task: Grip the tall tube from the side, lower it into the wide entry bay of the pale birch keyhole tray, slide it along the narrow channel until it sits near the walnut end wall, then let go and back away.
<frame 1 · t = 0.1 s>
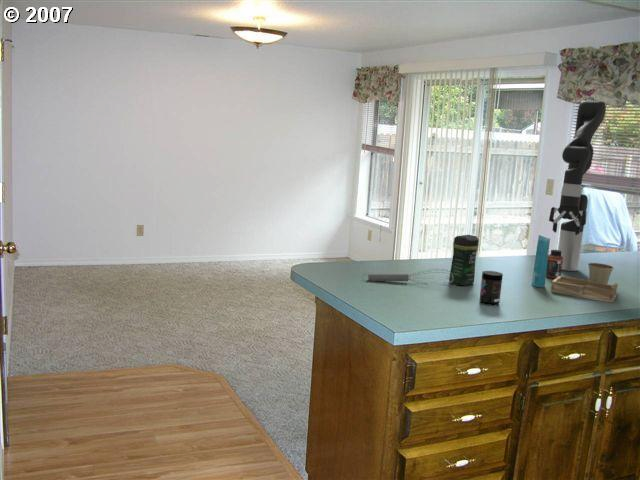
hand: (565, 233, 276), 17 cm above the worktop, tool pointing down, fingers open, 8 cm apart
keyhole tray: (582, 293, 246), on the worktop
kitchen whisk: (408, 284, 245), on the worktop
supplement container: (489, 303, 224), on the worktop
supplement bottle: (552, 277, 271), on the worktop
tube: (538, 286, 254), on the worktop
flower pot: (597, 287, 259), on the worktop
coffee jar: (461, 283, 250), on the worktop
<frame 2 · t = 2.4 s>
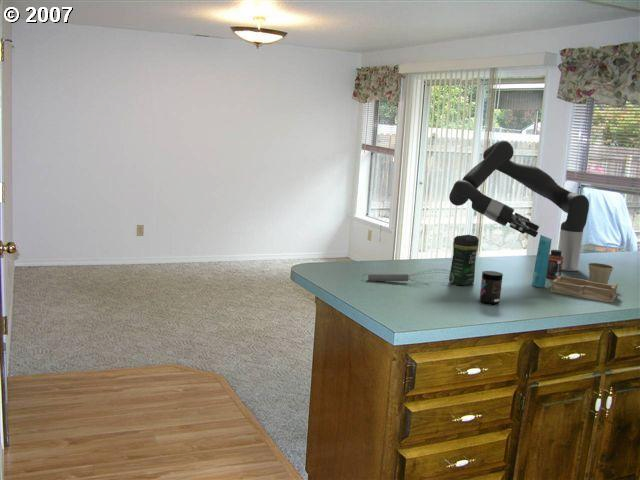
hand: (537, 231, 252), 21 cm above the worktop, tool tilted 70°, fingers open, 8 cm apart
nothing on the worktop moved.
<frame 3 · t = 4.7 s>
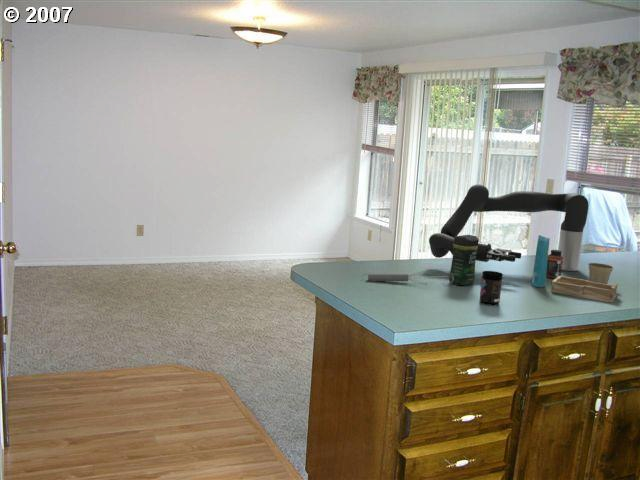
hand: (518, 257, 256), 10 cm above the worktop, tool horizontal, fingers open, 8 cm apart
nothing on the worktop moved.
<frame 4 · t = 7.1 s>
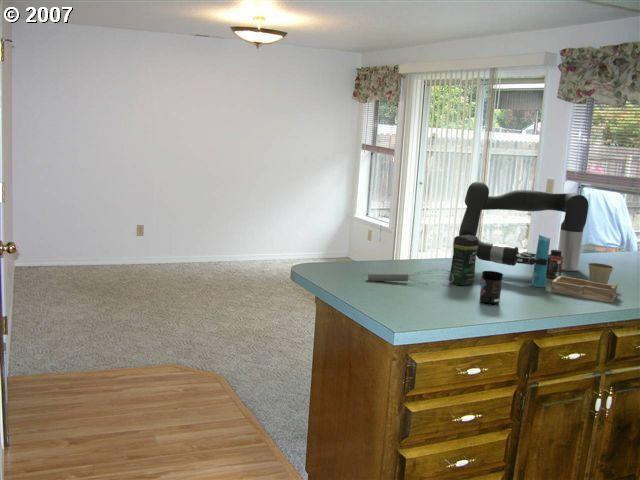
hand: (548, 261, 251), 10 cm above the worktop, tool horizontal, fingers closed on tube, 5 cm apart
tube: (538, 286, 254), on the worktop, touching gripper
everything else where it was.
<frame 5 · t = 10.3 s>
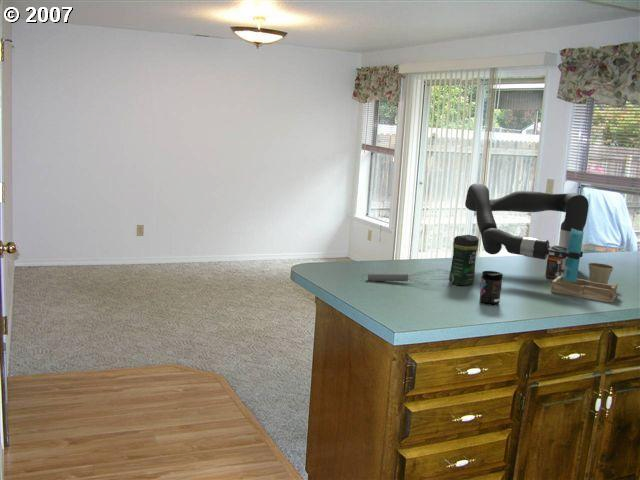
hand: (580, 255, 244), 14 cm above the worktop, tool horizontal, fingers closed on tube, 5 cm apart
tube: (569, 280, 248), point 4 cm above the worktop, touching gripper
everything else where it was.
when the fingers open (12 cm above the worktop, at t = 13.7 s): tube stays where it is, resting on keyhole tray.
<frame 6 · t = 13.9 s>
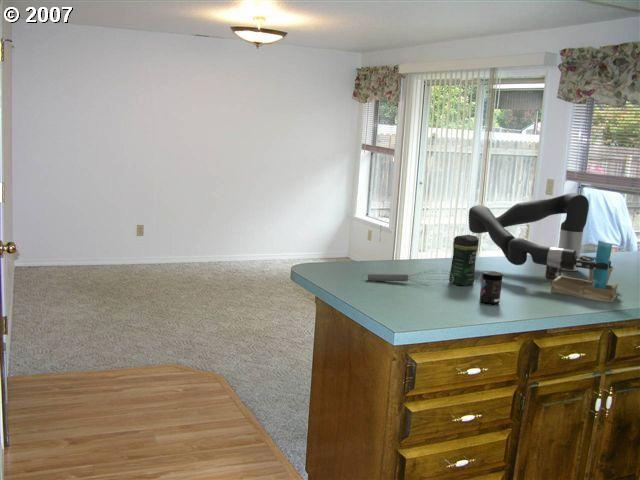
hand: (609, 265, 240), 12 cm above the worktop, tool horizontal, fingers open, 6 cm apart
tube: (597, 294, 243), point 1 cm above the worktop, touching keyhole tray
everything else where it was.
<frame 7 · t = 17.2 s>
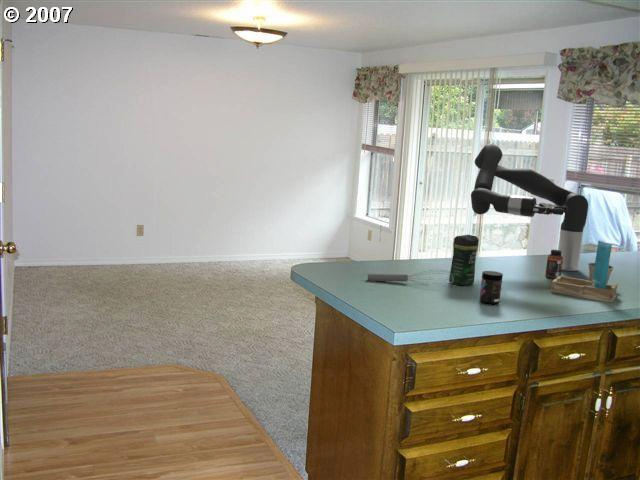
hand: (565, 211, 248), 30 cm above the worktop, tool horizontal, fingers open, 8 cm apart
nothing on the worktop moved.
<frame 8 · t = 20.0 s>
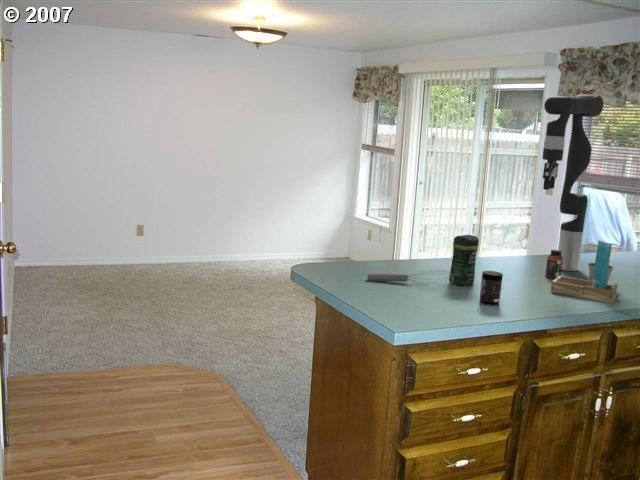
hand: (548, 189, 263), 36 cm above the worktop, tool pointing down, fingers open, 8 cm apart
at the end: tube inside the target area (0.4 cm from its centre), point 0.8 cm above the worktop; tube tilted 0°; the gripper is holding nothing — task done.
